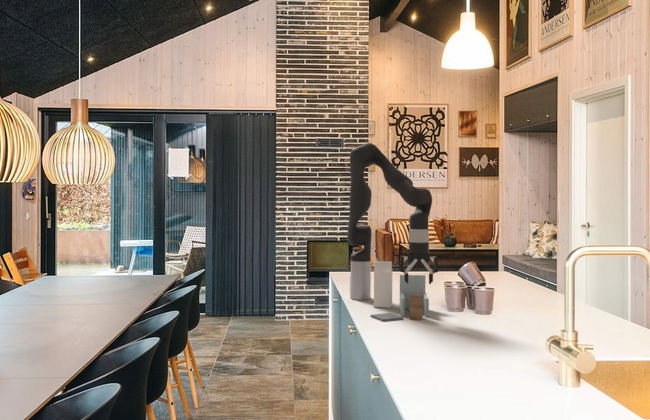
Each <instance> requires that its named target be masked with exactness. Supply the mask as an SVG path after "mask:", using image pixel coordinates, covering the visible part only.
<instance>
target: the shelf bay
mask: <svg viewBox="0 0 650 420" xmlns="http://www.w3.org/2000/svg"><path fill="white" fill-rule="evenodd" d="M410 294H422V296H423V314H424V317H425V318H430V317H429V316H430V314H429V312H430V310H429V309H430V308H429V307H430V306H429V305H430V298H429V297H428V295H427V293H426V275H425V274H408V283H406V282H405V274H399V312H400V316H401V317H403V318H405V315H406V313H405V312H406V311H405V310H410Z"/></svg>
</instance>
